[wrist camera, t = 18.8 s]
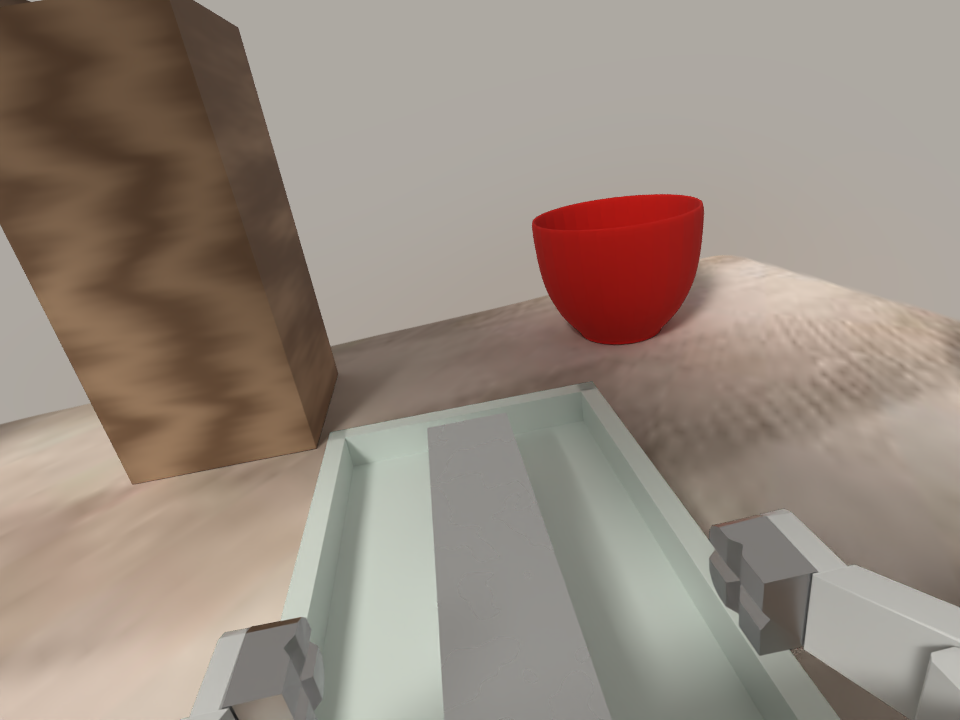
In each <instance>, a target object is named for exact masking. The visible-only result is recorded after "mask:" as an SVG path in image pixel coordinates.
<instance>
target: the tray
mask: <svg viewBox="0 0 960 720" xmlns="http://www.w3.org/2000/svg"><path fill="white" fill-rule="evenodd" d="M501 413H507V416H508V419H509V422H510V425H511V428H512V431H513V434H514V436H515V439H516V442H517V445H518V448H519V451H520V454H521V457H522V460H523V463H524V466H525V468H526V471H527V474H528V477H529V480H530V483H531V486H532V489H533V492H534V495H535V498H536V500H537V503H538V506H539V509H540V512H541V515H542V518H543V521H544V524H545V527H546V530H547V532H548V535H549V538H550V541H551V544H552V547H553V550H554V553H555V556H556V559H557V561H558V564H559V567H560V570H561V573H562V576H563V579H564V582H565V585H566V588H567V591H568V593H569V596H570V599H571V602H572V605H573V608H574V611H575V614H576V617H577V620H578V623H579V625H580V628H581V631H582V634H583V637H584V640H585V643H586V646H587V649H588V652H589V655H590V657H591V660H592V663H593V666H594V669H595V672H596V675H597V678H598V681H599V684H600V687H601V689H602V692H603V695H604V698H605V701H606V704H607V707H608V710H609V713H610V716H611V719H612V720H841V719H840V718H839V717H838V715H837V714H836V712H835V711H834V710H833V708H832V707H831V706H830V704H829V703H828V702H827V700H826V699H825V697H824V696H823V695H822V693H821V692H820V691H819V689H818V688H817V687H816V685H815V684H814V683H813V681H812V680H811V678H810V677H809V676H808V674H807V673H806V672H805V670H804V669H803V668H802V666H801V665H800V663H799V662H798V661H797V659H796V658H795V657H794V655H793V654H792V653H791V651H790V650H786V651H781V652H776V653H771V654H766V655H761V656H759V655H758V653H757V652H756V650H755V649H754V647H753V646H752V645H751V643H750V642H749V640H748V639H747V637H746V636H745V634H744V633H743V631H742V630H741V629H740V627H739V614H738V613H737V612H735V611H733V610H731V609H729V608H727V607H726V606H725V605H724V603H723V602H722V600H721V599H720V597H719V596H718V594H717V592H716V590H715V588H714V585H713V582H712V579H711V575H710V572H709V557H710V556H711V554H712V553H713V552H714V550H715V548H714V547H713V545H712V544H711V543H710V541H709V540H708V538H707V537H706V535H705V534H704V533H703V531H702V530H701V529H700V527H699V526H698V525H697V523H696V522H695V521H694V519H693V518H692V516H691V515H690V514H689V512H688V511H687V510H686V508H685V507H684V506H683V504H682V503H681V501H680V500H679V499H678V497H677V496H676V495H675V493H674V492H673V491H672V489H671V488H670V486H669V485H668V484H667V482H666V481H665V480H664V478H663V477H662V476H661V474H660V473H659V472H658V470H657V469H656V467H655V466H654V465H653V463H652V462H651V461H650V459H649V458H648V457H647V455H646V454H645V452H644V451H643V450H642V448H641V447H640V446H639V444H638V443H637V442H636V440H635V439H634V437H633V436H632V435H631V433H630V432H629V431H628V429H627V428H626V427H625V425H624V424H623V423H622V421H621V420H620V418H619V417H618V416H617V414H616V413H615V412H614V410H613V409H612V408H611V406H610V405H609V403H608V402H607V401H606V399H605V398H604V397H603V395H602V394H601V393H600V391H599V390H598V388H597V387H596V386H595V384H594V383H593V382H592V381H590V382H585V383H580V384H575V385H570V386H565V387H560V388H554V389H549V390H544V391H539V392H534V393H529V394H524V395H519V396H513V397H508V398H503V399H498V400H493V401H488V402H483V403H477V404H472V405H467V406H462V407H457V408H452V409H447V410H442V411H436V412H431V413H426V414H421V415H416V416H411V417H406V418H400V419H395V420H390V421H385V422H380V423H375V424H370V425H365V426H359V427H354V428H349V429H344V430H339V431H334V432H330V434H329V438H328V442H327V446H326V449H325V453H324V457H323V461H322V465H321V468H320V472H319V476H318V480H317V484H316V487H315V491H314V495H313V499H312V503H311V506H310V510H309V514H308V518H307V522H306V525H305V529H304V533H303V537H302V541H301V544H300V548H299V552H298V556H297V560H296V563H295V567H294V571H293V575H292V579H291V582H290V586H289V590H288V594H287V598H286V601H285V605H284V609H283V613H282V617H281V620H280V621H283V620H288V619H293V618H298V617H305V618H306V619H307V621H308V623H309V625H310V627H311V635H310V642H312V643H314V644H316V645H317V646H318V647H319V650H320V652H321V655H322V659H323V664H324V683H325V684H324V692H323V699H322V701H321V702H320V703H319V705H318V706H317V708H316V709H315V710H314V713H315V715H316V717H317V720H444V708H443V691H442V674H441V657H440V640H439V623H438V606H437V589H436V571H435V554H434V537H433V520H432V503H431V486H430V469H429V452H428V435H427V428H429V427H434V426H439V425H444V424H449V423H455V422H460V421H465V420H470V419H475V418H480V417H485V416H490V415H495V414H501Z"/></svg>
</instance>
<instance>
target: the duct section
mask: <svg viewBox="0 0 960 720" xmlns="http://www.w3.org/2000/svg"><path fill="white" fill-rule="evenodd" d="M427 435H428V452H429V469H430V486H431V503H432V520H433V537H434V554H435V571H436V589H437V606H438V623H439V640H440V657H441V674H442V691H443V708H444V720H612V719H611V716H610V713H609V710H608V707H607V704H606V701H605V698H604V695H603V692H602V689H601V687H600V684H599V681H598V678H597V675H596V672H595V669H594V666H593V663H592V660H591V657H590V655H589V652H588V649H587V646H586V643H585V640H584V637H583V634H582V631H581V628H580V625H579V623H578V620H577V617H576V614H575V611H574V608H573V605H572V602H571V599H570V596H569V593H568V591H567V588H566V585H565V582H564V579H563V576H562V573H561V570H560V567H559V564H558V561H557V559H556V556H555V553H554V550H553V547H552V544H551V541H550V538H549V535H548V532H547V530H546V527H545V524H544V521H543V518H542V515H541V512H540V509H539V506H538V503H537V500H536V498H535V495H534V492H533V489H532V486H531V483H530V480H529V477H528V474H527V471H526V468H525V466H524V463H523V460H522V457H521V454H520V451H519V448H518V445H517V442H516V439H515V436H514V434H513V431H512V428H511V425H510V422H509V419H508V416H507V413H501V414H495V415H490V416H485V417H480V418H475V419H470V420H465V421H460V422H455V423H449V424H444V425H439V426H434V427H429V428H427Z"/></svg>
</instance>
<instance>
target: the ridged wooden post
mask: <svg viewBox="0 0 960 720" xmlns="http://www.w3.org/2000/svg"><path fill="white" fill-rule="evenodd" d="M0 225H1V227H2V229H3V231H4V233H5V235H6V237H7V239H8V241H9V243H10V244H11V247H12V248H13V250H14V252H15V254H16V256H17V258H18V260H19V262H20V264H21V266H22V268H23V270H24V272H25V274H26V276H27V278H28V280H29V282H30V284H31V286H32V288H33V290H34V292H35V294H36V296H37V297H38V300H39V302H40V303H41V306H42V307H43V309H44V311H45V313H46V315H47V317H48V319H49V321H50V323H51V325H52V327H53V329H54V331H55V333H56V335H57V337H58V339H59V341H60V343H61V345H62V347H63V348H64V351H65V353H66V355H67V357H68V358H69V361H70V363H71V364H72V366H73V368H74V370H75V372H76V374H77V376H78V378H79V380H80V382H81V384H82V386H83V388H84V390H85V392H86V394H87V396H88V398H89V400H90V402H91V404H92V406H93V408H94V410H95V412H96V414H97V416H98V418H99V420H100V422H101V424H102V426H103V428H104V429H105V431H106V433H107V435H108V437H109V439H110V441H111V443H112V445H113V447H114V449H115V451H116V453H117V455H118V457H119V459H120V461H121V463H122V465H123V467H124V469H125V471H126V473H127V475H128V477H129V479H130V481H131V483H132V484H137V483H142V482H147V481H152V480H158V479H163V478H168V477H173V476H178V475H183V474H188V473H193V472H198V471H203V470H209V469H214V468H219V467H224V466H229V465H234V464H239V463H244V462H249V461H254V460H260V459H265V458H270V457H275V456H280V455H285V454H290V453H295V452H300V451H305V450H310V449H316V448H317V445H318V441H319V438H320V434H321V431H322V427H323V424H324V421H325V417H326V414H327V410H328V407H329V404H330V400H331V397H332V393H333V390H334V386H335V383H336V380H337V376H338V371H337V368H336V364H335V361H334V357H333V354H332V351H331V347H330V344H329V340H328V337H327V333H326V330H325V326H324V323H323V319H322V316H321V313H320V309H319V306H318V302H317V299H316V295H315V292H314V289H313V285H312V281H311V278H310V274H309V271H308V268H307V264H306V261H305V257H304V254H303V250H302V247H301V244H300V240H299V236H298V233H297V229H296V226H295V222H294V219H293V216H292V212H291V209H290V205H289V202H288V198H287V195H286V191H285V188H284V184H283V181H282V177H281V174H280V171H279V167H278V164H277V160H276V157H275V153H274V150H273V146H272V143H271V139H270V136H269V132H268V129H267V125H266V122H265V119H264V115H263V112H262V109H261V105H260V102H259V98H258V94H257V91H256V88H255V84H254V81H253V77H252V74H251V70H250V67H249V63H248V60H247V56H246V53H245V49H244V46H243V42H242V39H241V36H240V32H239V29H238V27H236V26H235V25H233V24H231V23H230V22H228V21H226V20H225V19H223V18H222V17H220V16H218V15H217V14H215V13H213V12H212V11H210V10H208V9H207V8H205V7H203V6H202V5H200V4H199V3H197V2H195V1H193V0H42V1H35V2H30V1H27V0H0Z"/></svg>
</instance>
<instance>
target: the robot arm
mask: <svg viewBox="0 0 960 720" xmlns="http://www.w3.org/2000/svg"><path fill="white" fill-rule="evenodd" d="M709 541H710V543H711V544H712V545H713V547H714V548H715V550H714V552H713V553H712V554H711V556H710V557H709V572H710V575H711V579H712V582H713V585H714V588H715V590H716V592H717V594H718V596H719V597H720V599H721V600H722V602H723V603H724V605H725V606H726V607H727V608H729V609H731V610H733V611H735V612H737V613H738V614H739V627H740V629H741V630H742V631H743V633H744V634H745V636H746V637H747V639H748V640H749V642H750V643H751V645H752V646H753V647H754V649H755V650H756V652H757V653H758V655H759V656H761V655H766V654H771V653H776V652H781V651H786V650H790V649H795V648H800V647H804V650H806V651H807V652H809V653H810V654H812V655H813V656H815V657H816V658H818V659H819V660H821V661H822V662H824V663H825V664H827V665H828V666H830V667H831V668H833V669H834V670H836V671H837V672H839V673H840V674H842V675H843V676H845V677H846V678H848V679H849V680H851V681H853V682H854V683H856V684H857V685H859V686H860V687H862V688H863V689H865V690H866V691H868V692H869V693H871V694H872V695H874V696H875V697H877V698H878V699H880V700H881V701H883V702H884V703H886V704H887V705H889V706H890V707H892V708H893V709H895V710H896V711H898V712H900V713H901V714H903V715H904V716H906V717H907V718H909V719H910V720H960V607H958V606H955V605H953V604H950V603H948V602H945V601H943V600H940V599H938V598H936V597H933V596H931V595H928V594H926V593H923V592H921V591H918V590H916V589H914V588H911V587H909V586H906V585H904V584H901V583H899V582H897V581H894V580H892V579H889V578H887V577H884V576H882V575H879V574H877V573H875V572H872V571H870V570H867V569H865V568H862V567H860V566H857V565H850V566H847V565H846V564H845V563H844V562H843V561H842V560H841V559H840V558H839V557H838V556H837V555H836V554H835V553H834V552H832V551H831V550H830V549H829V548H828V547H827V546H826V545H825V544H824V543H823V542H822V541H821V540H820V539H819V538H818V537H817V536H816V535H815V534H814V533H813V532H812V531H811V530H810V529H809V528H808V527H807V526H805V525H804V524H803V523H802V522H801V521H800V520H799V519H798V518H797V517H796V516H795V515H794V514H793V513H792V512H791V511H789V510H787V509H780V510H776V511H772V512H767V513H763V514H760V515H754V516H750V517H746V518H741V519H737V520H733V521H729V522H724V523H720V524H716V525H712V527H711V529H710V531H709ZM310 635H311V627H310V625H309V623H308V621H307V619H306V618H305V617H298V618H293V619H288V620H283V621H278V622H273V623H268V624H263V625H257V626H252V627H250V628H245V629H240V630H235V631H230V632H225V633H224V634H223V635H222V636H221V637H220V638H219V640H218V642H217V644H216V647H215V650H214V652H213V655H212V658H211V660H210V663H209V666H208V668H207V671H206V673H205V676H204V679H203V681H202V684H201V687H200V689H199V692H198V695H197V697H196V700H195V703H194V705H193V708H192V711H191V713H190V716H189V717H187V718H183V719H180V720H317V717H316V715H315V713H314V710H315V709H316V708H317V706H318V705H319V703H320V702H321V701H322V699H323V692H324V684H325V683H324V664H323V659H322V655H321V652H320V650H319V647H318V646H317V645H316V644H314V643H312V642H310Z"/></svg>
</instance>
